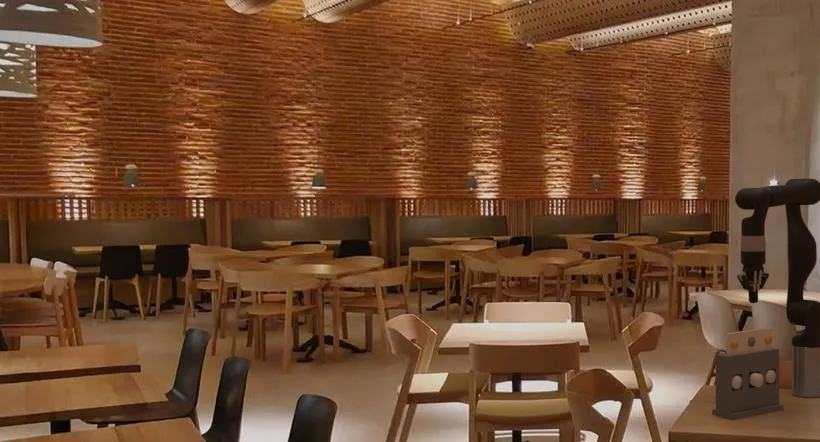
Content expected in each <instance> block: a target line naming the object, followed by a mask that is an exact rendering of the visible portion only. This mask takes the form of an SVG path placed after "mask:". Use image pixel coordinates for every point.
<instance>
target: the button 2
mask: <svg viewBox="0 0 820 442" xmlns="http://www.w3.org/2000/svg"><path fill="white" fill-rule="evenodd" d="M775 378H776V374H775V372H774V371H773V370H769V369H767V370H766V382H768V383H773V382H774V381H775Z"/></svg>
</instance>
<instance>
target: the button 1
mask: <svg viewBox="0 0 820 442" xmlns="http://www.w3.org/2000/svg"><path fill="white" fill-rule="evenodd" d="M741 385H742V379H741V377H740V376H737V375H732V388H734V389H739V388H740V387H741Z"/></svg>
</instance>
